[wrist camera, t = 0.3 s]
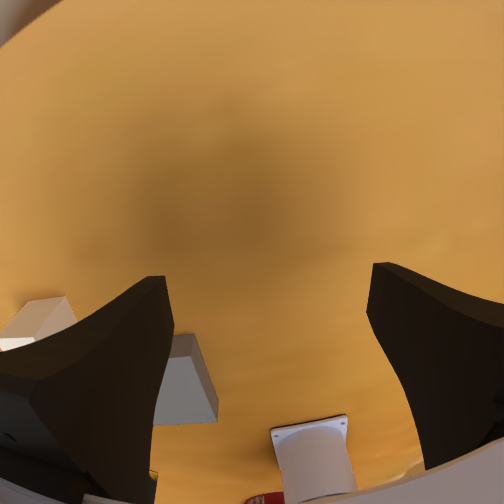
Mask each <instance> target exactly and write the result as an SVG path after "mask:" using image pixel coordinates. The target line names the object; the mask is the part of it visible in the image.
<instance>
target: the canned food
mask: <svg viewBox="0 0 504 504" xmlns="http://www.w3.org/2000/svg"><path fill="white" fill-rule="evenodd" d="M245 504H285V500H284V492H274V493H267V494H261V495H257V496H254V497H252V498H250V499H248V500H247V501H246V502H245Z"/></svg>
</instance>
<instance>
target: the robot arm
mask: <svg viewBox="0 0 504 504" xmlns="http://www.w3.org/2000/svg"><path fill="white" fill-rule="evenodd" d="M366 313H367V316H368V319H369V321H370V324H371V327H372V329H373V332H374V334H375V336H376V338H377V340H378V342H379V343H380V345H381V347H382V349H383V351H384V353H385V354H386V356H387V358H388V360H389V362H390V363H391V365H392V367H393V369H394V371H395V373H396V374H397V376H398V378H399V380H400V382H401V385H402V387H403V389H404V392H405V394H406V397H407V400H408V403H409V405H410V408H411V411H412V415H413V418H414V421H415V425H416V428H417V432H418V436H419V440H420V444H421V449H422V453H423V458H424V464H425V470H426V471H424V472H421V473H419V474H416V475H413V476H410V477H407V478H404V479H400V480H397V481H394V482H390V483H387V484H383V485H380V486H376V487H372V488H368V489H364V490H360V491H358V487H357V483H356V480H355V476H354V473H353V469H352V466H351V462H350V459H349V455H348V452H347V448H346V445H345V442H346V433H347V423H348V418H347V416H346V415H343V416H338V417H334V418H329V419H325V420H320V421H315V422H310V423H305V424H300V425H294V426H288V427H282V428H275V429H272V430H271V437H272V441H273V445H274V449H275V453H276V457H277V461H278V465H279V468H280V469H281V475H282V484H283V492H284V500H285V504H504V304H502V303H497V302H493V301H489V300H485V299H482V298H479V297H476V296H472V295H469V294H466V293H463V292H461V291H458V290H456V289H453V288H451V287H448V286H446V285H443V284H441V283H439V282H436V281H434V280H432V279H429V278H427V277H425V276H423V275H421V274H418V273H416V272H414V271H412V270H409V269H407V268H405V267H402V266H400V265H397V264H394V263H390V262H383V263H373V270H372V277H371V284H370V291H369V298H368V304H367V310H366ZM173 333H174V321H173V316H172V311H171V306H170V301H169V296H168V290H167V285H166V279H165V276H148V277H146V278H144V279H142V280H141V281H139V282H138V283H136V284H135V285H133V286H132V287H130V288H129V289H128V290H126V291H125V292H123V293H122V294H121V295H119V296H118V297H116V298H115V299H114V300H112V301H111V302H109V303H108V304H106V305H105V306H103V307H102V308H100V309H99V310H97V311H96V312H94V313H93V314H91V315H89V316H88V317H86V318H84V319H83V320H81V321H79V322H77V323H75V324H74V325H72V326H70V327H68V328H66V329H64V330H62V331H59V332H57V333H55V334H52V335H50V336H48V337H45V338H43V339H41V340H38V341H35V342H33V343H30V344H27V345H24V346H20V347H17V348H14V349H10V350H6V351H2V352H0V504H149V468H150V451H151V439H152V429H153V421H154V414H155V407H156V403H157V398H158V395H159V391H160V387H161V384H162V380H163V377H164V373H165V370H166V366H167V362H168V359H169V355H170V352H171V347H172V340H173Z"/></svg>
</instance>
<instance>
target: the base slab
mask: <svg viewBox="0 0 504 504" xmlns="http://www.w3.org/2000/svg"><path fill="white" fill-rule="evenodd" d="M217 420H218V398H217V395H216V392H215V390H214V387H213V384H212V382H211V379H210V376H209V374H208V371H207V368H206V365H205V363H204V360H203V357H202V354H201V351H200V349H199V346H198V343H197V340H196V337H195V334H188V335H180V336H173V340H172V347H171V352H170V355H169V359H168V362H167V366H166V370H165V373H164V377H163V380H162V384H161V387H160V391H159V395H158V398H157V403H156V407H155V414H154V421H153V425H178V424H199V423H213V422H217Z"/></svg>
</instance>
